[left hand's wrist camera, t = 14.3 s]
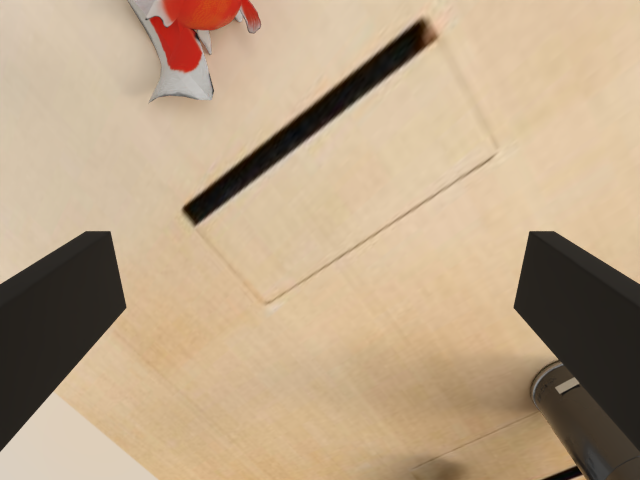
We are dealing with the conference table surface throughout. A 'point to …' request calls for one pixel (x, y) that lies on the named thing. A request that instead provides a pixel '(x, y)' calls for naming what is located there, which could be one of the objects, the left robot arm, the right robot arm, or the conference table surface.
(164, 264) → the conference table surface
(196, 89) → the fish
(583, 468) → the right robot arm
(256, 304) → the conference table surface
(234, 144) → the conference table surface
